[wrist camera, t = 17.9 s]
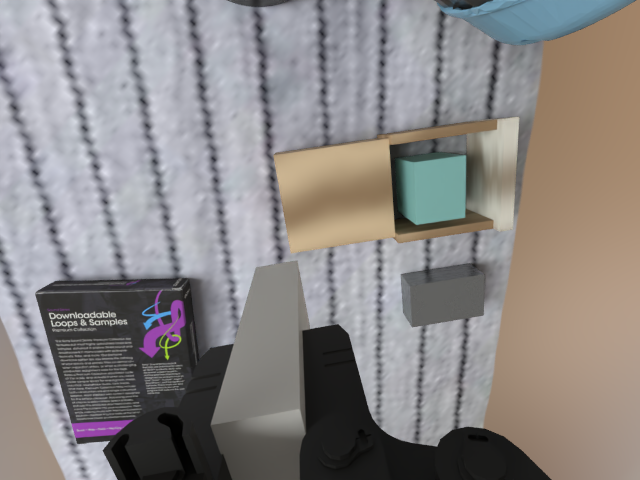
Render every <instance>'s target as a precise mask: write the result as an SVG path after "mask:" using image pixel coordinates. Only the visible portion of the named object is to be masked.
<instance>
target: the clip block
mask: <svg viewBox="0 0 640 480" xmlns="http://www.w3.org/2000/svg"><path fill="white" fill-rule="evenodd" d="M395 171H396V189H397V207H398V212H399V213H401V214H402V215H403V216H405V217H406V218H408V219H409V220H410V221H412V222H413V223H414V224H416V225H419V224H426V223H433V222H439V221H446V220H453V219H459V218H465V198H466V155H460V154H452V153H443V152H435V153H428V154H421V155H414V156H407V157H400V158H395Z"/></svg>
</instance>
